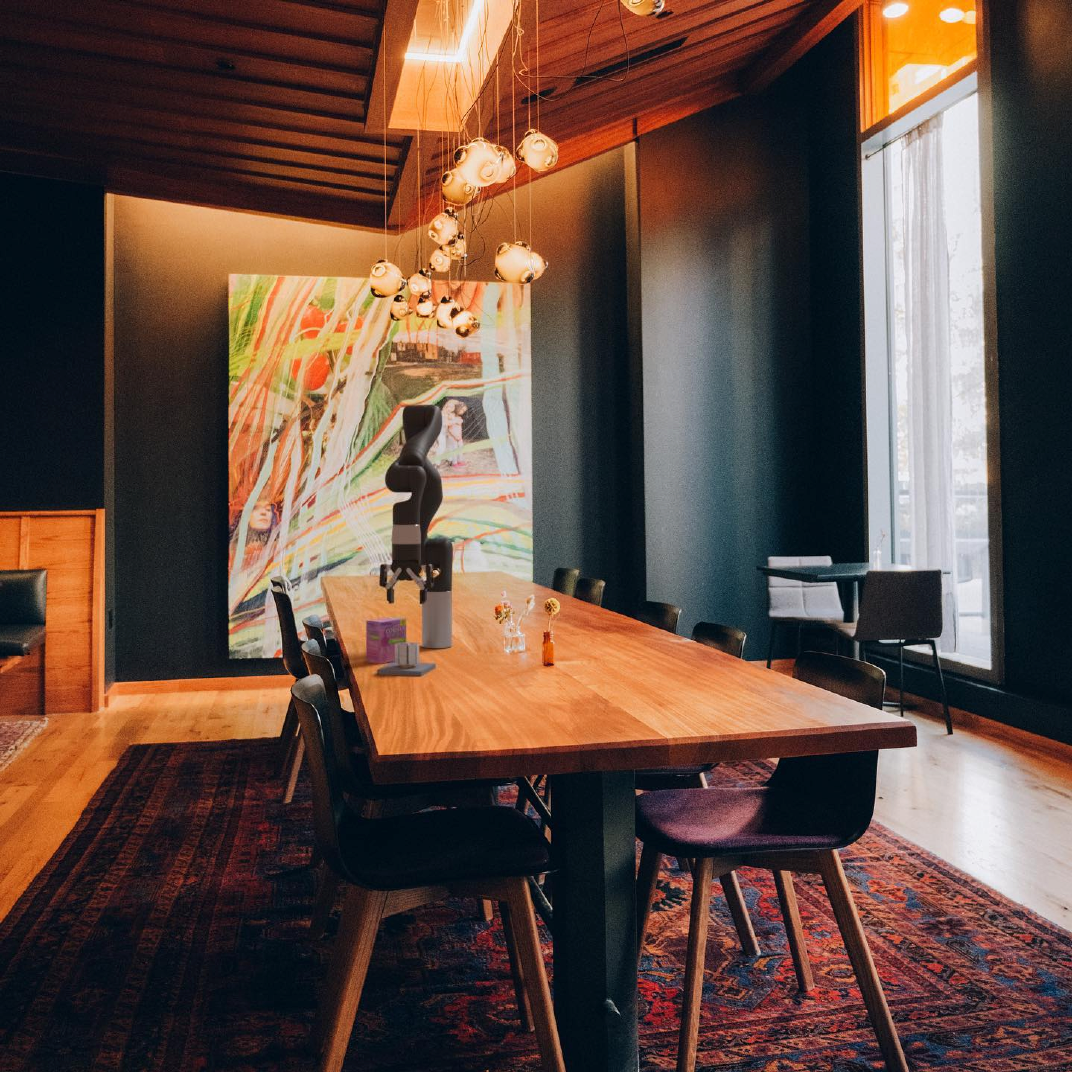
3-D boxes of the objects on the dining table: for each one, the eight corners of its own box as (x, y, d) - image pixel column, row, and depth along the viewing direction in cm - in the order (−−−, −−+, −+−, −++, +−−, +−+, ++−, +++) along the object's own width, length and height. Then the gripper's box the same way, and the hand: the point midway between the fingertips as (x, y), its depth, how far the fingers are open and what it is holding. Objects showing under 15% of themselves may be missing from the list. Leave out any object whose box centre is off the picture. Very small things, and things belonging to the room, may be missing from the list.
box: (380, 664, 254) (379, 621, 254) (365, 662, 258) (365, 619, 257) (407, 659, 263) (407, 617, 262) (393, 657, 266) (392, 616, 266)
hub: (400, 660, 248) (400, 641, 248) (421, 661, 247) (421, 642, 247) (391, 664, 242) (391, 645, 242) (414, 665, 241) (414, 645, 241)
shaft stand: (393, 666, 251) (393, 639, 251) (435, 667, 249) (435, 640, 249) (376, 674, 240) (376, 645, 239) (421, 676, 237) (421, 647, 237)
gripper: (436, 541, 245) (437, 602, 246) (385, 541, 248) (386, 601, 249) (427, 543, 238) (428, 606, 239) (375, 542, 241) (375, 604, 242)
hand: (406, 603), depth 244 cm, fingers open, 8 cm apart
